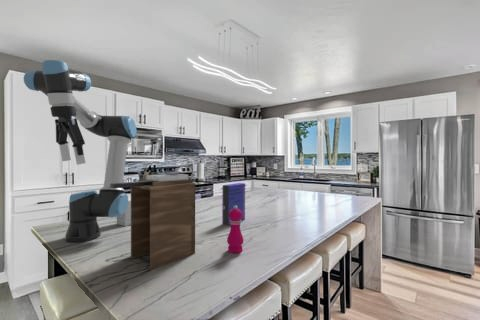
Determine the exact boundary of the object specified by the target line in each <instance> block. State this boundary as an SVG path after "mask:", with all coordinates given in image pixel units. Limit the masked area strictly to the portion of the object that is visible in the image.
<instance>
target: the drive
mask: <svg viewBox="0 0 480 320" xmlns="http://www.w3.org/2000/svg"><path fill="white" fill-rule="evenodd" d="M145 176H146V177H145V178H146V179H145V180H146V181H139V182H138V181H128V182H123V183H112V184H110V188H113V189H114V188H123V189H124V188H131V187H136V186H147V185H152V182H165V181H177V180H189V174H184V173H183V174H182V173H178V172H172V171H171V172H165V173H161V174H146V175H145Z"/></svg>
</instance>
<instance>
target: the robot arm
mask: <svg viewBox="0 0 480 320" xmlns="http://www.w3.org/2000/svg"><path fill="white" fill-rule="evenodd" d="M41 67H42V68H41V69H42V70H37V69H36V70H30V71H26V72H25V73H24V75H23V83H24V85H25V86H26V87H27V89H29V90H31V91H36V92H39V91H40V92H42V94H44V95H45V96H47V99H48V100H47V101H48V104H49V106H50V107H49V108H50V114H51V116H52V117H53V118H56V119H54V123H55V142H56V143H57V144H58V147H59V150H60V151H59V152H60V156H61V161H62V162H67V161H72V160H71V155H70V154H71V153H70V149H69V142H68V136H69V138H70V140H71V142H72V149H73V152H74V157H75V163H76V165H77V166H78V165H82V164H86V159H85V153H84V148H83V147H84V145H86V143H85V139H84V137H83V134H82V131H81V129H80V127H79V125H80V126H81V127H82V128H83V129H85V130H87V131H88V132H90V133H92V134H94V135H96V136H99V137H102V138H107V139H106V140H108V141H109V144H108V145H109V147H108V153H107V161H106V167H105V174H104V182H103V186H102V187H101V188H99V192H98V191H97V190H87V191H80V192H75V193H72V194H71V195H70V196H69V200H68V204H69V205H68V206H69V208H68V209H69V214H68V215H69V219H68V220H69V224H68V227H67V230H66V232H65V236H64V240H65V242H67V243H82V242H88V241H91V240H95V239H97V238H100V236H101V234H102V233H101V229H100V225H99V224H98V218H117V217H119V216H121V215H123V214H124V212H125V211H126V209H127V206H128V198H129V196H128V194H126V193H125V192H126V191H125V189H124V188H114V189H113V188H110V184H112V183H124V175H125V168H126V159H127V152H128V145H129V144H130V143H131V142H132V139H134V138H135V137H136V136H137V133H138V132H137V125H136V122H135V120H134V119H133V117H131V116H130V115H128V116H127V115H100V114H98V113H97V112H95V111H93V110H90V109H89V108H88V107H87V106H86V105H85V104H84V103H82V101H81V100H79V99H78V98H77V97H76V96H75V95H74V94H73V91H75V92H87V91H89V90H90V88H91V87H92V81H91V78H90V76H89V75H87V73H84V72H82V71H76V70H72V69H71V70H70V69H69V67H68V64H67V62H66V61H63V60H56V59H55V60H54V59H47V60H46V59H45V60H43V61H41ZM78 122H79V124H78Z"/></svg>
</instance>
